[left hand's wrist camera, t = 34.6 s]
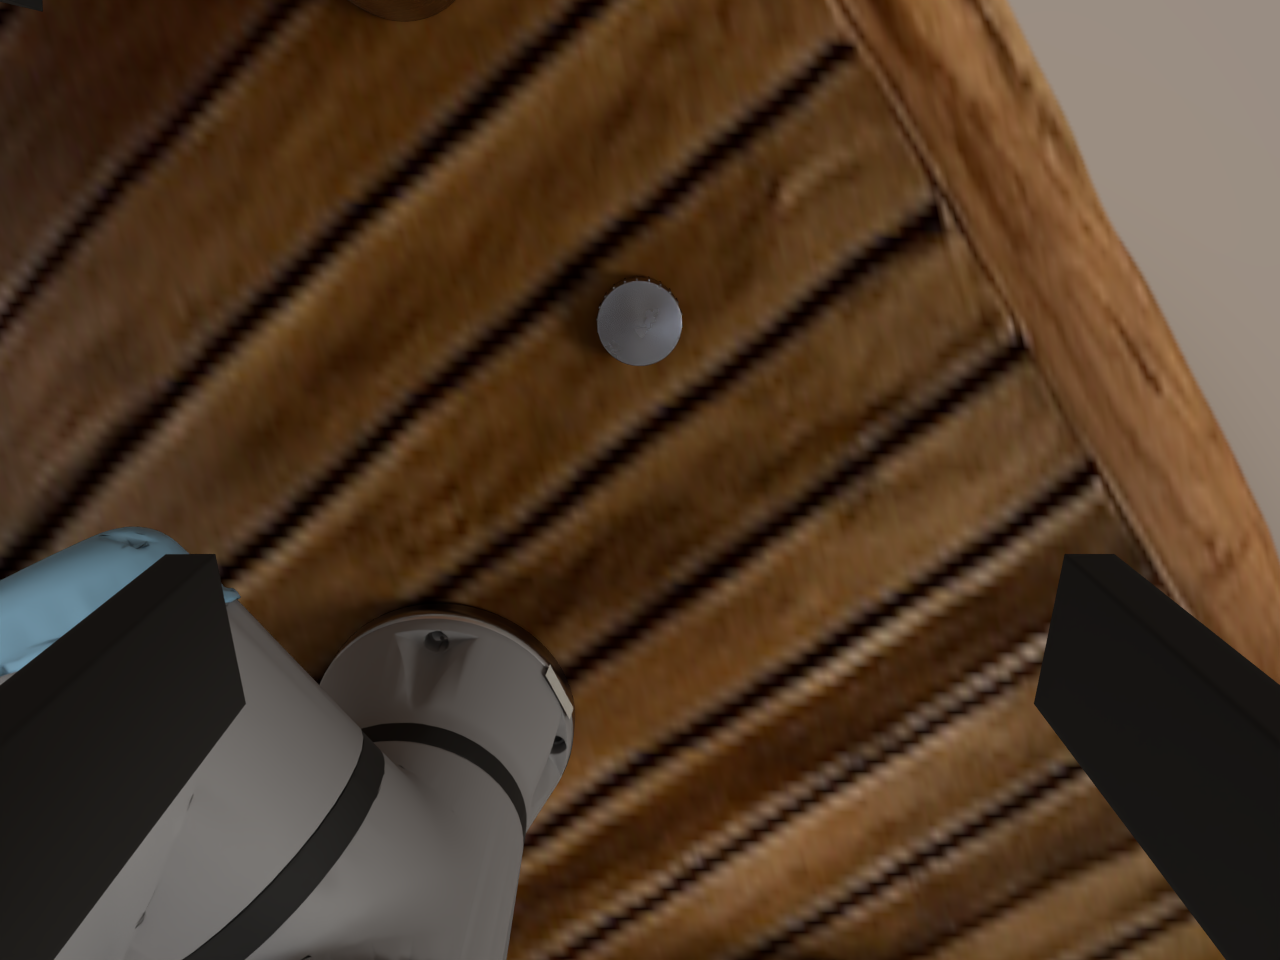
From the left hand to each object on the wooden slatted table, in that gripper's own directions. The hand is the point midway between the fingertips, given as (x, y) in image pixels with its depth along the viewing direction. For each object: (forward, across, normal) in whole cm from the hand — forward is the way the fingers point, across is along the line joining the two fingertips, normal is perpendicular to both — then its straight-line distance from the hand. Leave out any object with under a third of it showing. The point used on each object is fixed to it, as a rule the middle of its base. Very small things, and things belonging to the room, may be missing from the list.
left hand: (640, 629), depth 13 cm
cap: (+29, 0, 0) cm, 29 cm away
